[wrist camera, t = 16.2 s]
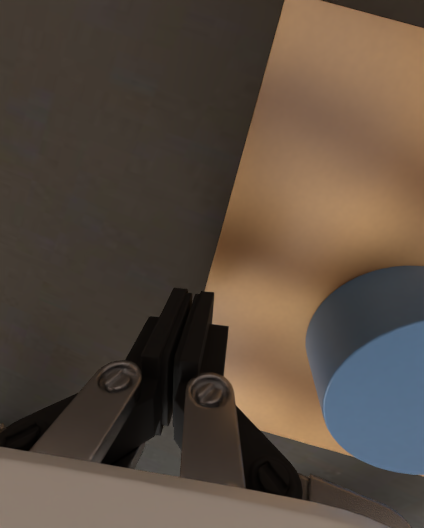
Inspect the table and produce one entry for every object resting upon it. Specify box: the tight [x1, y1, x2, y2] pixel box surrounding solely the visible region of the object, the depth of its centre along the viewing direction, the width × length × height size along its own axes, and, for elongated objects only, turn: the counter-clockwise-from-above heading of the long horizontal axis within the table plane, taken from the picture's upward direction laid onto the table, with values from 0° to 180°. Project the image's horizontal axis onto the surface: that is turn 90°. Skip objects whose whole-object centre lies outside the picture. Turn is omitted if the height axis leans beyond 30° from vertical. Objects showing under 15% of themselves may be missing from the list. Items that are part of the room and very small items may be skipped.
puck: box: [306, 266, 424, 475], centre depth 12 cm, size 8×8×4 cm
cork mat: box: [205, 0, 424, 476], centre depth 13 cm, size 20×20×1 cm
